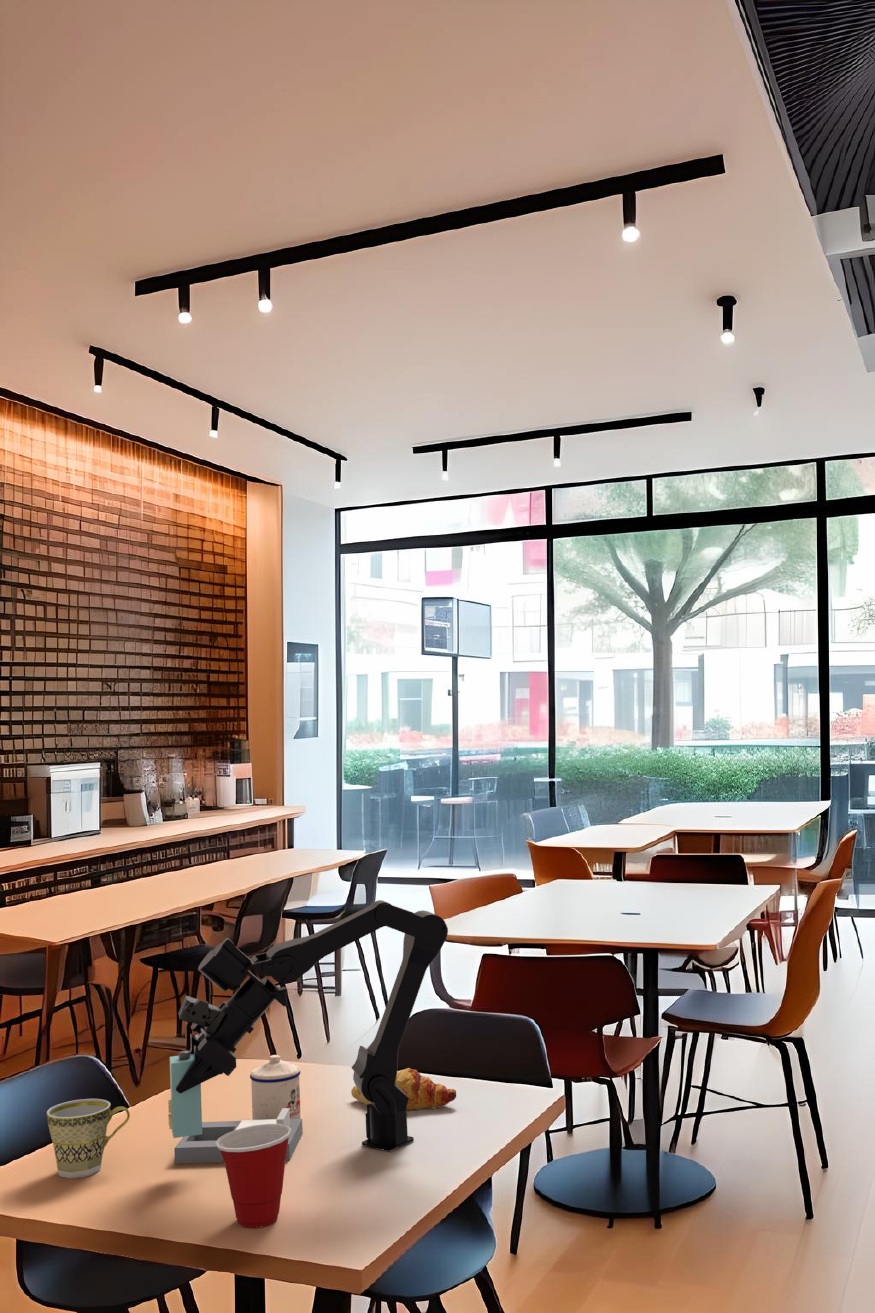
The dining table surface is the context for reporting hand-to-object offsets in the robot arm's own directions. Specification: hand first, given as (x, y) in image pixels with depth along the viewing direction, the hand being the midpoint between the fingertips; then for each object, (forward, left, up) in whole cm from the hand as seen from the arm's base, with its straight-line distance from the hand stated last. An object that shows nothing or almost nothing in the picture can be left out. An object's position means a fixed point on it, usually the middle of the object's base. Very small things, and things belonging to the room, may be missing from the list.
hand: (176, 1087), depth 183 cm
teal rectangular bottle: (-1, -1, -7) cm, 7 cm away
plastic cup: (-24, +6, -14) cm, 29 cm away
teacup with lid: (+6, -28, -14) cm, 31 cm away
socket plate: (+1, -13, -13) cm, 19 cm away
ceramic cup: (+15, +6, -14) cm, 21 cm away
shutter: (-3, -16, -11) cm, 19 cm away
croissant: (-9, -46, -14) cm, 49 cm away
